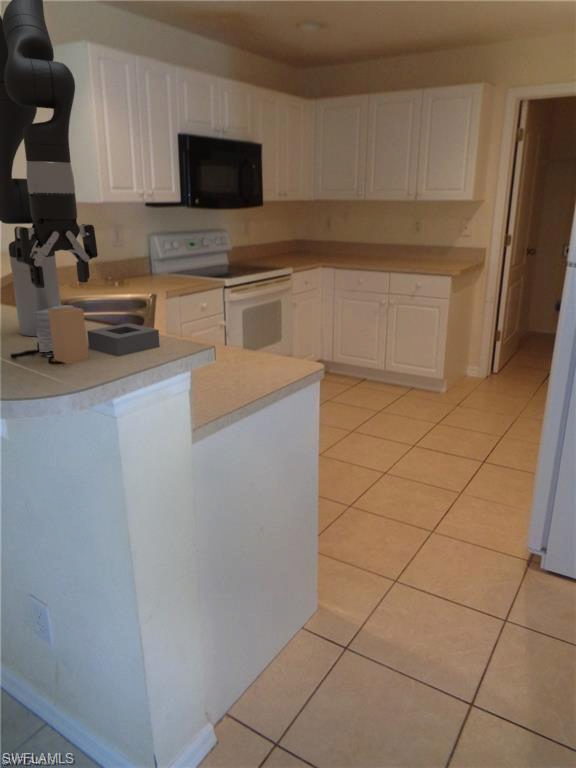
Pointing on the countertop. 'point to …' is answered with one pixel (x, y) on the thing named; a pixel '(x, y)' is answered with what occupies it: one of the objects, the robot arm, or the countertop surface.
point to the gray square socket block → (123, 339)
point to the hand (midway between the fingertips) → (61, 284)
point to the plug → (68, 334)
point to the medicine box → (45, 329)
